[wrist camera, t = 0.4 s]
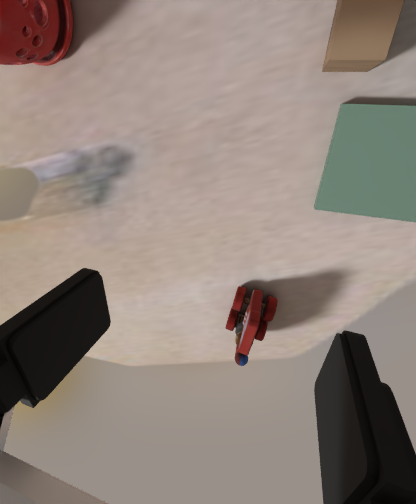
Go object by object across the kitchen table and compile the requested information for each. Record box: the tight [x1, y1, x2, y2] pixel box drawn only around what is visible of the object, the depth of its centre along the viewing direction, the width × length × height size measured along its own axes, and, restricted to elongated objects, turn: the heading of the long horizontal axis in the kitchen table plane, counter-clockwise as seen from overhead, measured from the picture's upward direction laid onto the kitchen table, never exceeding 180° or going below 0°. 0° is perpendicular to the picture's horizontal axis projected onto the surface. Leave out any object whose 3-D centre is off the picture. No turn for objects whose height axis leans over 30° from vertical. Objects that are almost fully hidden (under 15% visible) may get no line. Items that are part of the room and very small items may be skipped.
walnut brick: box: [322, 0, 404, 72], centre depth 22 cm, size 8×4×6 cm, turn 178°
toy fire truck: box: [226, 286, 277, 366], centre depth 40 cm, size 7×12×10 cm, turn 170°
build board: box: [314, 104, 416, 222], centre depth 28 cm, size 12×12×1 cm
